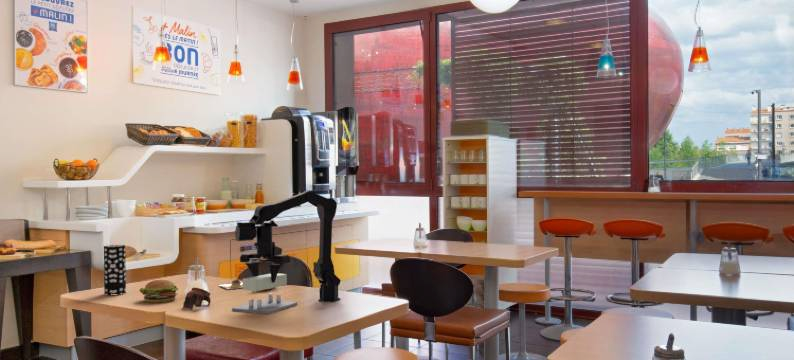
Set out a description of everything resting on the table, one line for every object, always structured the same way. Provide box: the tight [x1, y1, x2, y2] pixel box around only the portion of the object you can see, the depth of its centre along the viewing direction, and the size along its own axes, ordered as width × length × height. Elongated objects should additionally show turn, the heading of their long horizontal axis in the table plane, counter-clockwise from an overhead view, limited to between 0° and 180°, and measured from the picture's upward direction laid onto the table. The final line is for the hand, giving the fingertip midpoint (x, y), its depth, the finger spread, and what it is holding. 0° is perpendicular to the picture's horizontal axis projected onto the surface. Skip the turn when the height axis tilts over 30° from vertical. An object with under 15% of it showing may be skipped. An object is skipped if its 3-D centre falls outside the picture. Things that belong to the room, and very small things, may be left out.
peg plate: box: [231, 293, 298, 315], centre depth 246 cm, size 16×18×4 cm
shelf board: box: [242, 272, 288, 292], centre depth 246 cm, size 6×16×4 cm, turn 146°
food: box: [139, 279, 179, 303], centre depth 264 cm, size 14×14×8 cm
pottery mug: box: [182, 287, 212, 310], centre depth 248 cm, size 12×10×8 cm
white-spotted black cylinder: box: [103, 244, 127, 296], centre depth 279 cm, size 8×8×20 cm
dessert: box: [218, 276, 243, 291], centre depth 293 cm, size 12×12×5 cm
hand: (265, 281), depth 246 cm, fingers closed on shelf board, 7 cm apart
